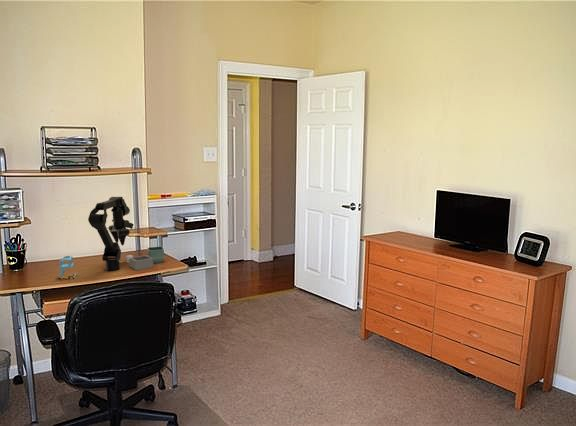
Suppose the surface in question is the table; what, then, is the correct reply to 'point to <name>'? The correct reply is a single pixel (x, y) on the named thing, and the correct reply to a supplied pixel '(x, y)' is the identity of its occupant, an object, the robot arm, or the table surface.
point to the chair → (65, 266)
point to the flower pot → (156, 254)
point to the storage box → (141, 262)
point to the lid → (128, 258)
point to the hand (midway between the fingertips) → (119, 244)
